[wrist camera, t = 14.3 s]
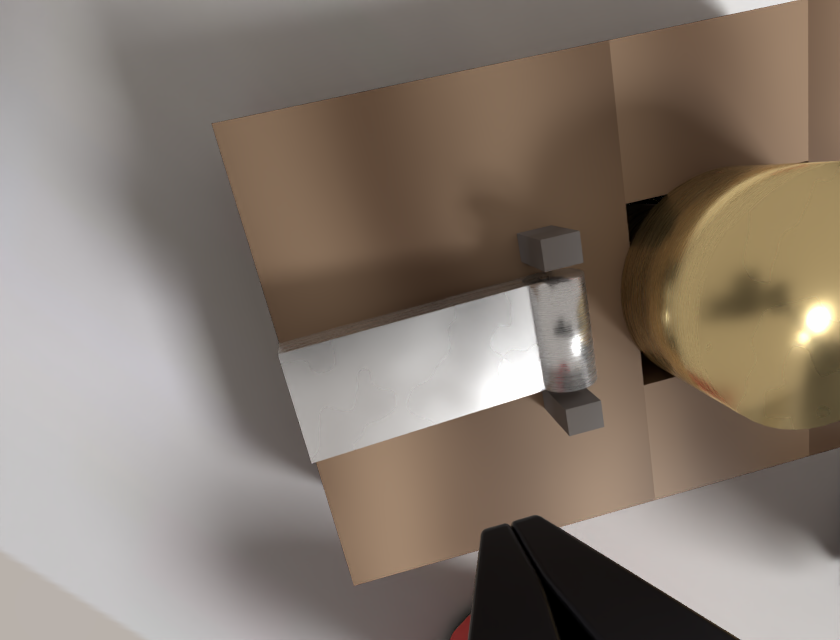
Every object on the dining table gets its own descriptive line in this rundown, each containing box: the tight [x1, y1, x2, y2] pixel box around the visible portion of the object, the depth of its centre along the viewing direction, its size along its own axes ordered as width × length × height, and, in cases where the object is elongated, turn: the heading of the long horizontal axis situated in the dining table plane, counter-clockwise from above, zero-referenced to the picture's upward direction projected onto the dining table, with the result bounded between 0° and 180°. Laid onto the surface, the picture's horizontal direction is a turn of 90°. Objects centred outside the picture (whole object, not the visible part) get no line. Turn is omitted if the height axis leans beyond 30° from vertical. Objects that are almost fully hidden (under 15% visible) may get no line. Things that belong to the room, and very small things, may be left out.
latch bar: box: [278, 268, 597, 463], centre depth 14 cm, size 8×3×2 cm, turn 102°
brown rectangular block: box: [212, 0, 840, 586], centre depth 17 cm, size 18×14×7 cm
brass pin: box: [621, 161, 840, 430], centre depth 16 cm, size 6×6×8 cm
